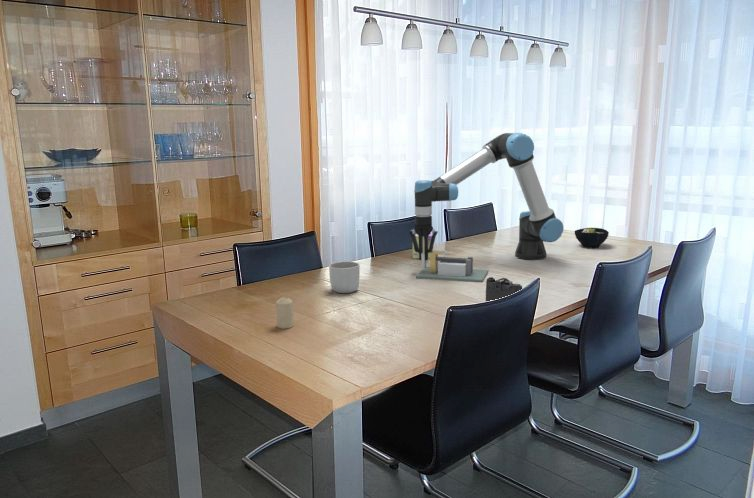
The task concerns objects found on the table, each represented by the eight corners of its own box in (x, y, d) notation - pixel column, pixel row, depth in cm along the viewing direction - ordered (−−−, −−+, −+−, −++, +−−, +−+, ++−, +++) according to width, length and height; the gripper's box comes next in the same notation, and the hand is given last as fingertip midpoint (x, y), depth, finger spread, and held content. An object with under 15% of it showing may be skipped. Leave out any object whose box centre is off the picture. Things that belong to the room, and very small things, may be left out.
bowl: (610, 245, 316) (611, 226, 314) (604, 251, 301) (605, 232, 299) (578, 242, 325) (579, 224, 323) (570, 248, 310) (571, 229, 308)
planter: (337, 296, 232) (336, 269, 229) (325, 289, 242) (324, 263, 240) (365, 292, 237) (364, 265, 235) (352, 285, 248) (351, 260, 246)
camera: (531, 303, 217) (532, 277, 215) (516, 311, 209) (517, 284, 207) (498, 297, 226) (498, 272, 224) (482, 303, 219) (483, 277, 216)
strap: (471, 261, 258) (471, 258, 258) (470, 263, 255) (470, 259, 255) (437, 259, 263) (437, 256, 262) (436, 260, 260) (436, 257, 259)
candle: (277, 323, 201) (276, 295, 199) (294, 323, 201) (292, 295, 199) (276, 329, 196) (274, 300, 194) (293, 328, 196) (291, 299, 194)
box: (433, 256, 299) (433, 233, 297) (433, 258, 294) (433, 235, 291) (412, 256, 300) (412, 233, 298) (412, 258, 295) (412, 235, 292)
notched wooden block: (444, 270, 264) (444, 250, 262) (442, 273, 259) (442, 253, 257) (432, 270, 265) (432, 250, 264) (430, 272, 261) (430, 252, 259)
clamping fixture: (488, 272, 264) (488, 254, 263) (482, 282, 247) (482, 263, 246) (425, 268, 273) (425, 251, 272) (415, 278, 257) (415, 260, 255)
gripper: (439, 214, 261) (439, 266, 265) (411, 213, 265) (411, 264, 269) (435, 217, 254) (436, 270, 258) (406, 216, 258) (407, 268, 263)
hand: (423, 267), depth 264 cm, fingers closed
